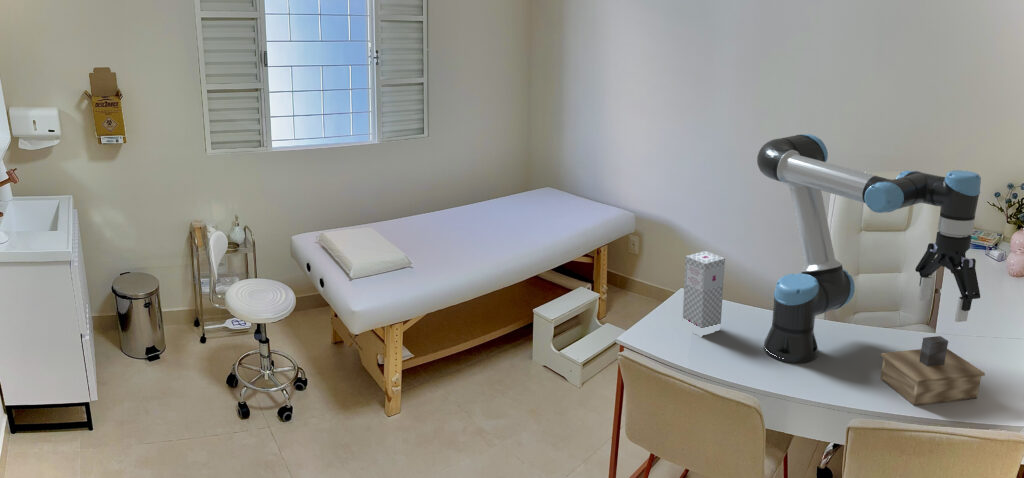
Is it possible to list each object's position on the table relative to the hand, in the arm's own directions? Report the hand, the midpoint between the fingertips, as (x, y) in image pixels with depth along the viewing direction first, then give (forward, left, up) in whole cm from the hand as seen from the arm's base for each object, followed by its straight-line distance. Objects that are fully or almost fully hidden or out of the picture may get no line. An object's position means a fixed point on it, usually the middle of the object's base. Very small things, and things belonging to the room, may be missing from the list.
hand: (941, 310), depth 186 cm
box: (-45, +47, -24) cm, 69 cm away
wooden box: (0, 0, -23) cm, 23 cm away
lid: (0, 0, -16) cm, 16 cm away
